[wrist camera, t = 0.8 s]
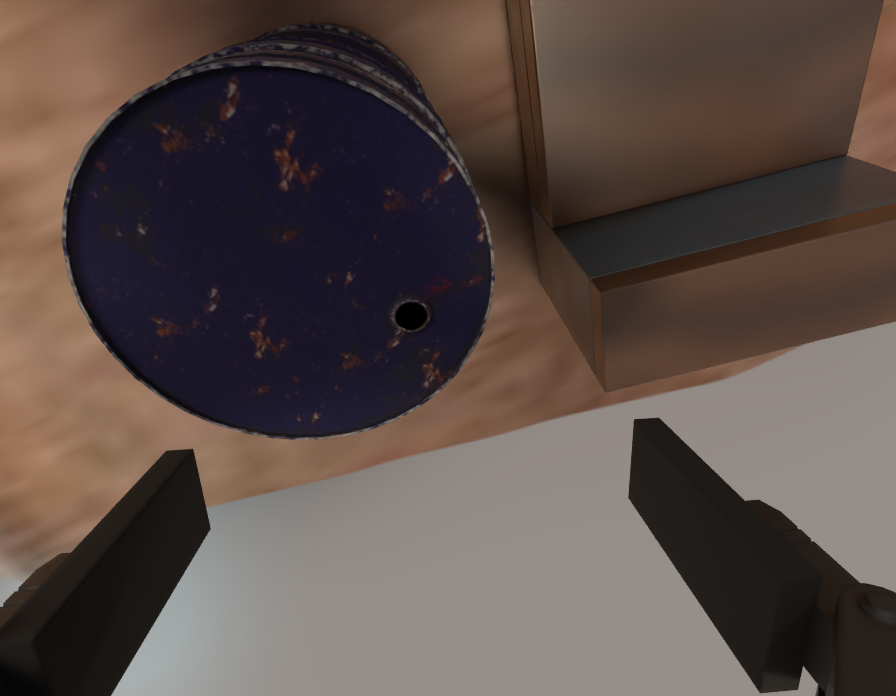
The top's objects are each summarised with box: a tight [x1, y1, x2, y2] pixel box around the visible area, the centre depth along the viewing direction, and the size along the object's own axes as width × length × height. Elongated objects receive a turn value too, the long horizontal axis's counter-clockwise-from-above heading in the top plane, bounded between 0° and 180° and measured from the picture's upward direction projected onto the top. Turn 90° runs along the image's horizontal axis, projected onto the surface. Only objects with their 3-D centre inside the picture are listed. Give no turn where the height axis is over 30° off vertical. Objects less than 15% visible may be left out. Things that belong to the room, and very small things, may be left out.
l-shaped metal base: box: [506, 0, 896, 392], centre depth 21 cm, size 18×14×10 cm
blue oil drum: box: [62, 23, 495, 440], centre depth 18 cm, size 10×10×15 cm
